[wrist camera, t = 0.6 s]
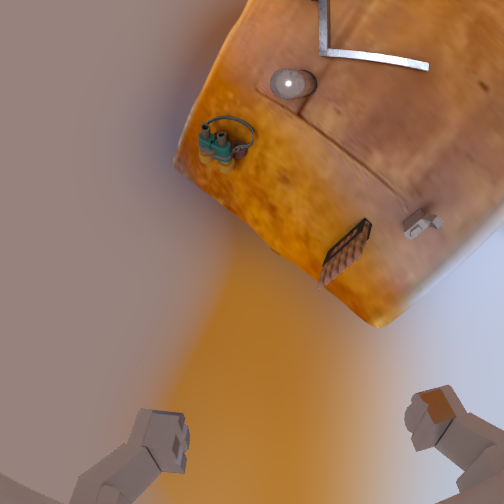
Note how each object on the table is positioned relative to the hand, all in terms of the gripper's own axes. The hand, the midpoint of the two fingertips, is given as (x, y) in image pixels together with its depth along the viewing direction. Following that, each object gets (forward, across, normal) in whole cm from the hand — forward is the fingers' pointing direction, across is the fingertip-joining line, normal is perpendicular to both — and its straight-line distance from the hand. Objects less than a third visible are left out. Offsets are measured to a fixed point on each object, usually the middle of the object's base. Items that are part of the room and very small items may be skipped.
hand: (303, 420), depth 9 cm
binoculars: (+51, +5, -8) cm, 52 cm away
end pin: (+44, -7, -17) cm, 47 cm away
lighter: (+38, -27, +3) cm, 47 cm away
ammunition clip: (+45, -16, +10) cm, 49 cm away
